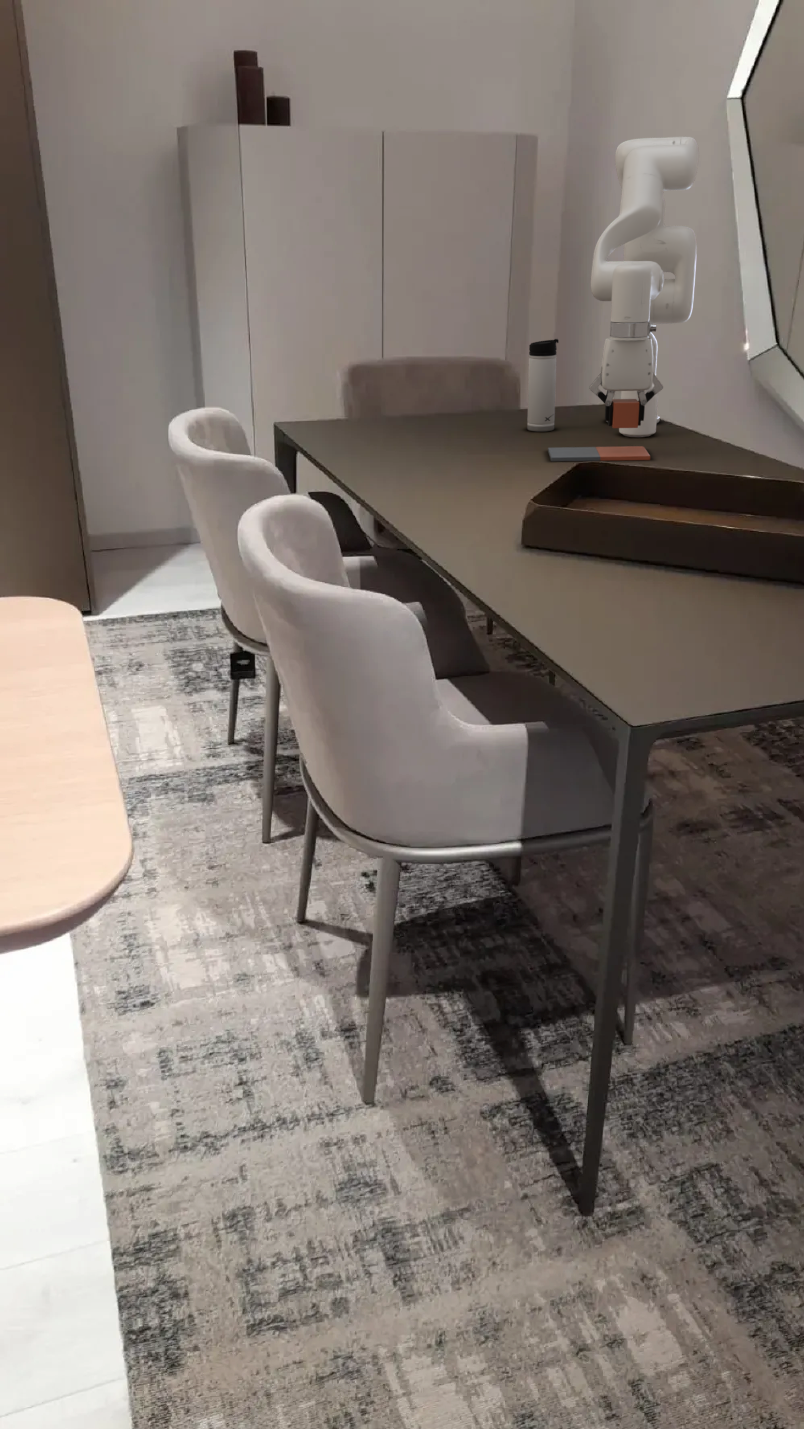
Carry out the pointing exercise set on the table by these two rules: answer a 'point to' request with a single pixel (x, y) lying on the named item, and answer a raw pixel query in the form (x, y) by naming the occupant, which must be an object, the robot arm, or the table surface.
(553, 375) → the travel mug
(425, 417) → the table surface
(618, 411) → the terracotta block
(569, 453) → the sorting board
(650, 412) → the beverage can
